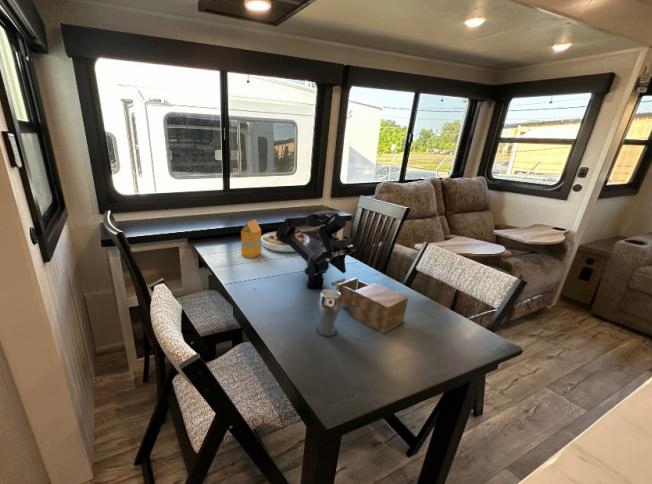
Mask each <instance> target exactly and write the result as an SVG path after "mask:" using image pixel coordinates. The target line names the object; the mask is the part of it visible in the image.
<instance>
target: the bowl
mask: <svg viewBox="0 0 652 484" xmlns="http://www.w3.org/2000/svg"><path fill="white" fill-rule="evenodd" d="M276 232H277V231H271V232H267V233H265V234H262V235H261V245H262V246H263V247H264V248H266V249H268V250H271V251H274V252H278V253H279V252H280V253H295V252H296V251H295V250H294V249H293V248H292V247H291V246H289V245H288V244H285V243H282V242H280V241H279V240H278V239H277V237H276ZM295 235H296V238H297V239H298V240H299V241H300V242H301V243H303V244H304V245H305V246H306V247H307V248H308V246H309V244H310V237H309V236H308V235H305V234H304V233H303V232H299V230H298V229H296V230H295Z"/></svg>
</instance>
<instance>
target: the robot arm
mask: <svg viewBox="0 0 652 484" xmlns="http://www.w3.org/2000/svg"><path fill="white" fill-rule="evenodd" d="M305 225H306V226H308V227H312V228H315V229H314V233H313V236H317V235H318V237H319V239H320V242H321V247H322V248H324V250H325V251H323V252H320V253H316V254H315V253H314V252H313V251H312V250H311V249H309V247H308V246H307V247H306V246H305V245H304V244H303V243H301V242H300V241H299V240H298V239H297V238H296V235H295V230H297V227H296V226H305ZM346 226H347V221H346V219H345V218H344V217H343V216H342V215H340V214H339V213H338V212H333V213H332V214H331V216H329V215H327V213H326V212H325V211H319V212H313V213H310V214H307V215H302V216H288V217H286V218H285V219H284V220H283V222H282V223H281V224H280V225H279V226H278V228H277V230H276V231H275V232H276V237H277V239H278V240H279V241H280V242H282V243H285V244H288V245H289V246H291V247H292V248H293V249H294V250H295V252H296V253H297V254H298V255H299V256H300V257H301V259H303V260H304V261H305V262H306V265H307V267H306V268H304V274H305V275H307V282H306V283H307V284H306V285H307V289H317V290H322V289H323V286H324V280H325V278H324V274H326V273H327V271H328V270H329V268H330V265H331V266H333V268H336V269H337V270H338V271H339V272H341V273H342V274H345V273H346V272H347V269H346V257H347V256H349V255H350V254H351V253H353V252H355V251H357V249H356V247H355V245H353V244H352V243H353V240H352V237H351V236H350V235H346V236H344V237H343V238H342V239H340V238H339V237H338V236H337V237H336V234H337V233H338V232H340V231H341V230H343V229H344V228H345V227H346ZM316 227H317V228H316Z"/></svg>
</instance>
